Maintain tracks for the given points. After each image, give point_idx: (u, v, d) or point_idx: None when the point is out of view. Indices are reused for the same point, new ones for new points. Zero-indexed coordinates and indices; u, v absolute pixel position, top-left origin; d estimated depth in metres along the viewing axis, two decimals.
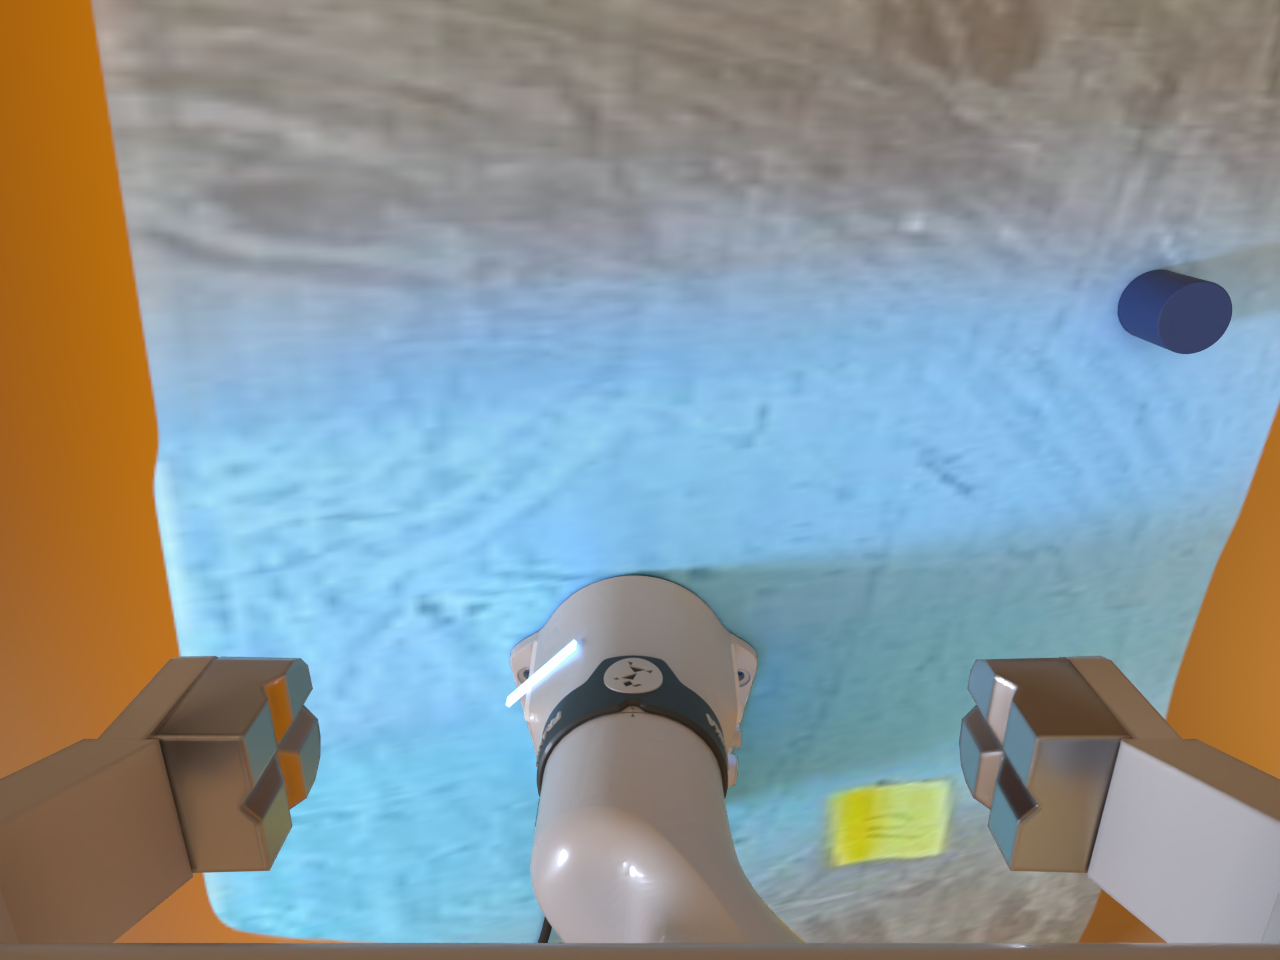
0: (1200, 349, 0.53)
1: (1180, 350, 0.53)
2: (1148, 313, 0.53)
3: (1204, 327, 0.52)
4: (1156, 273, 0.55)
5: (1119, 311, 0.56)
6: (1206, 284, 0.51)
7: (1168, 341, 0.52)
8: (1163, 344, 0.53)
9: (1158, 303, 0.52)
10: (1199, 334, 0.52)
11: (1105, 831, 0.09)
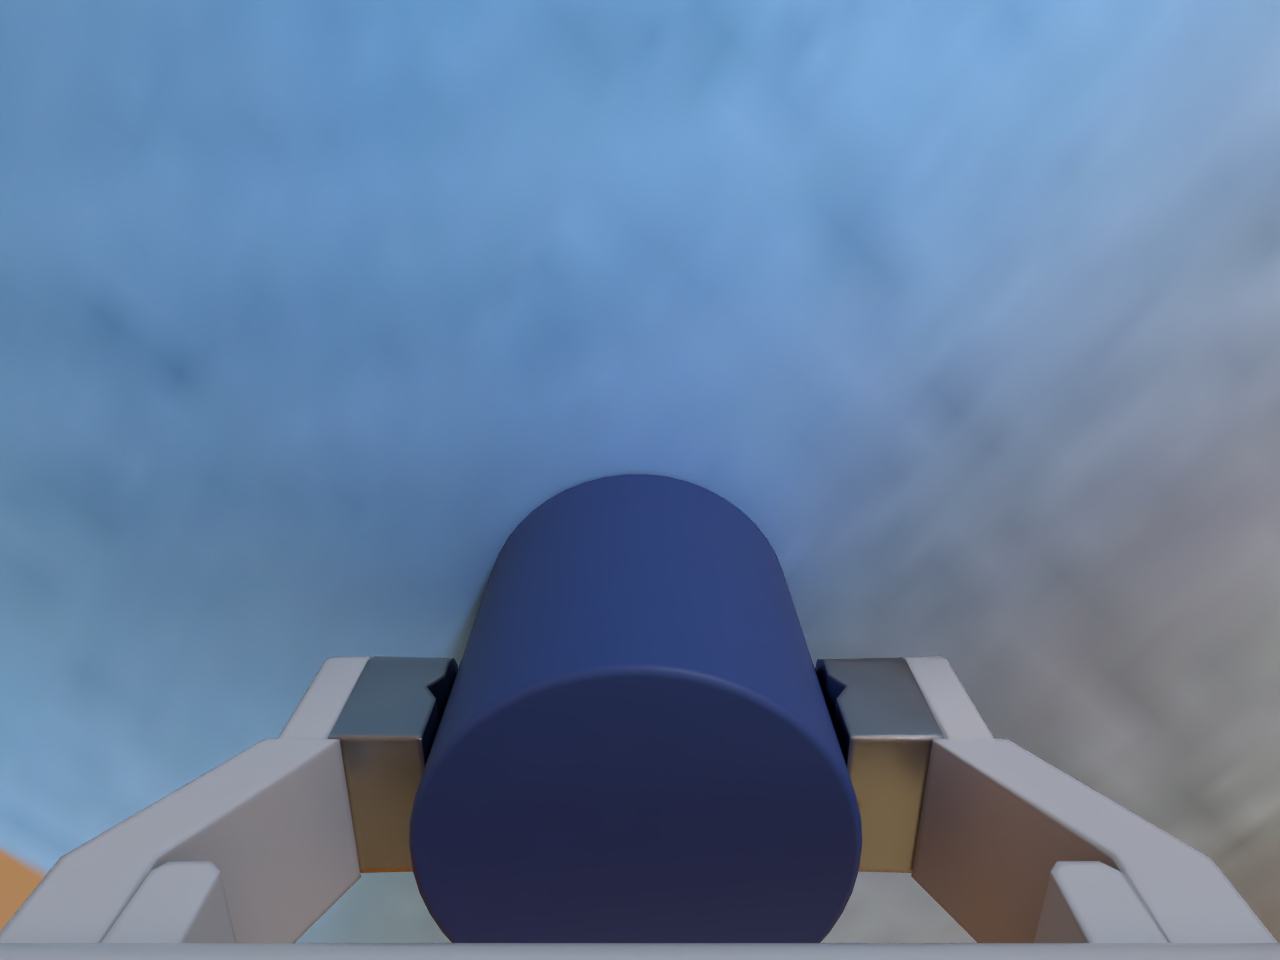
0: (425, 814, 0.08)
1: (493, 728, 0.08)
2: (774, 646, 0.09)
3: (546, 877, 0.08)
4: None
5: (710, 495, 0.12)
6: None
7: (602, 697, 0.08)
8: (594, 663, 0.08)
9: (829, 727, 0.08)
10: (520, 842, 0.08)
11: (926, 832, 0.09)
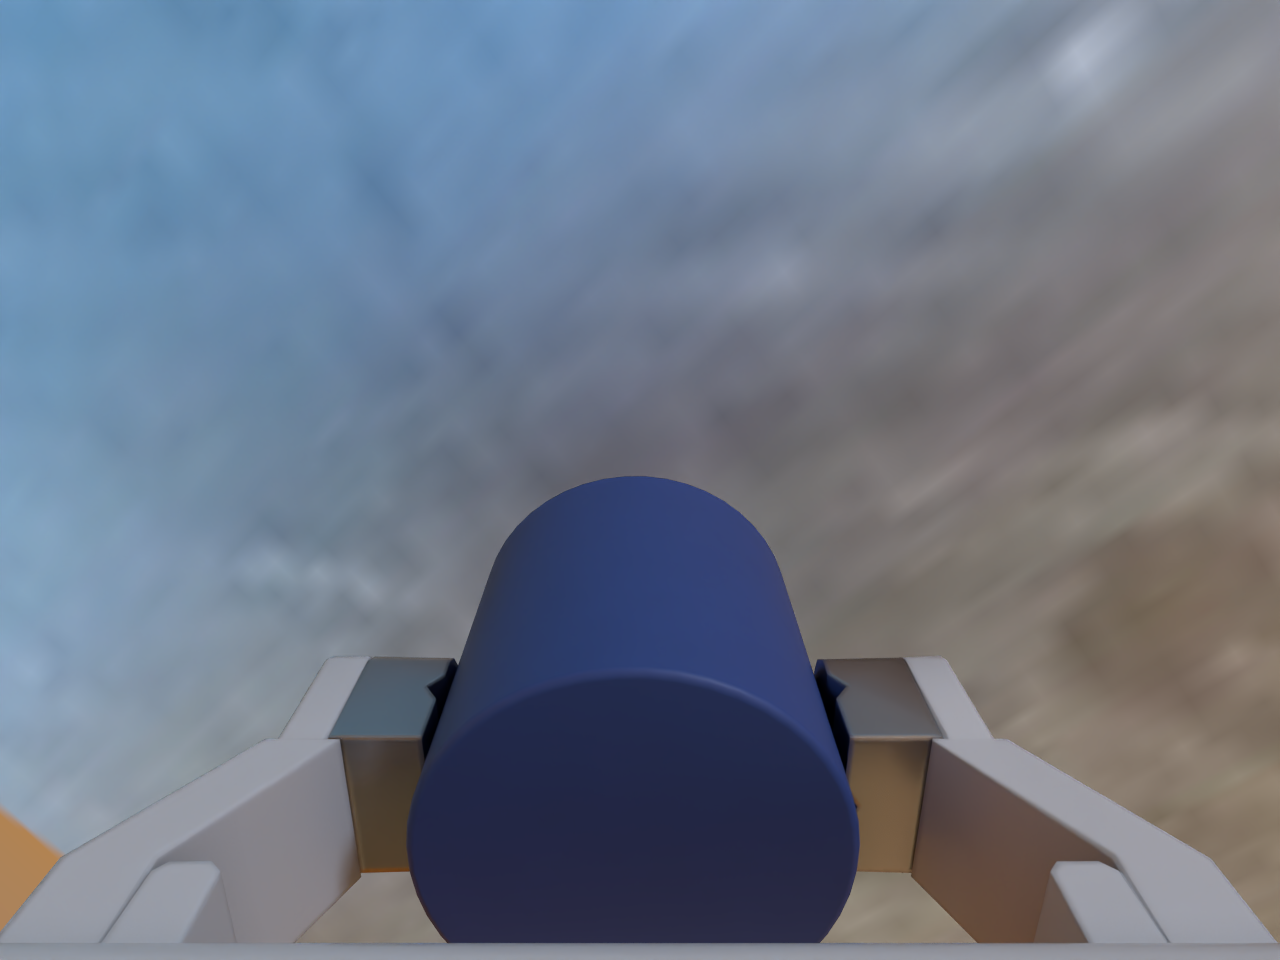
0: (422, 816, 0.08)
1: (491, 731, 0.08)
2: (772, 648, 0.09)
3: (544, 879, 0.08)
4: None
5: (709, 497, 0.12)
6: None
7: (599, 700, 0.08)
8: (591, 665, 0.08)
9: (826, 729, 0.08)
10: (517, 844, 0.08)
11: (927, 832, 0.09)
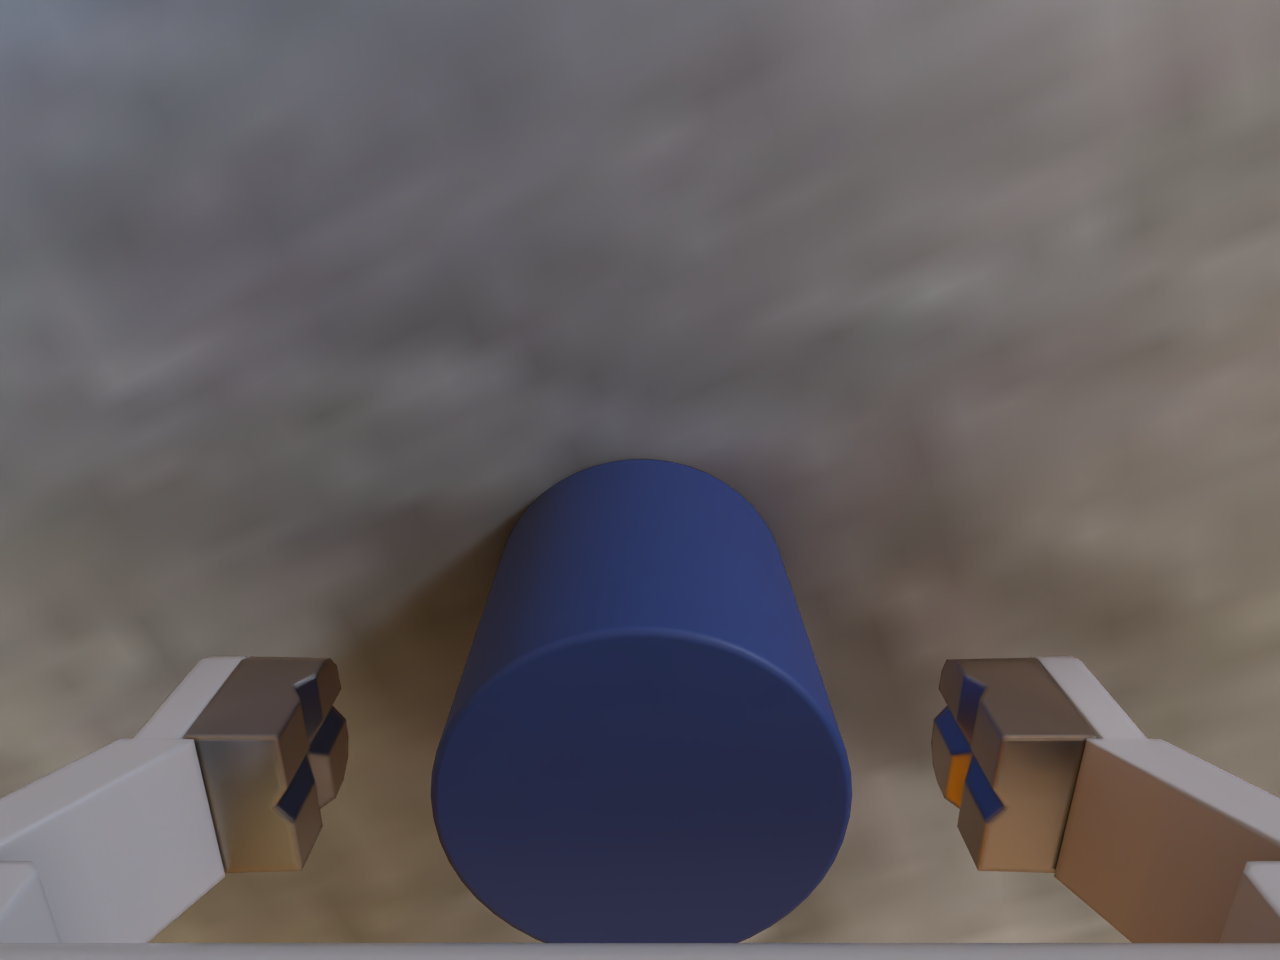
0: (446, 767, 0.09)
1: (510, 686, 0.08)
2: (770, 613, 0.09)
3: (558, 827, 0.09)
4: None
5: (711, 479, 0.12)
6: (772, 913, 0.09)
7: (609, 656, 0.08)
8: (603, 625, 0.08)
9: (820, 688, 0.09)
10: (533, 795, 0.09)
11: (1072, 832, 0.09)
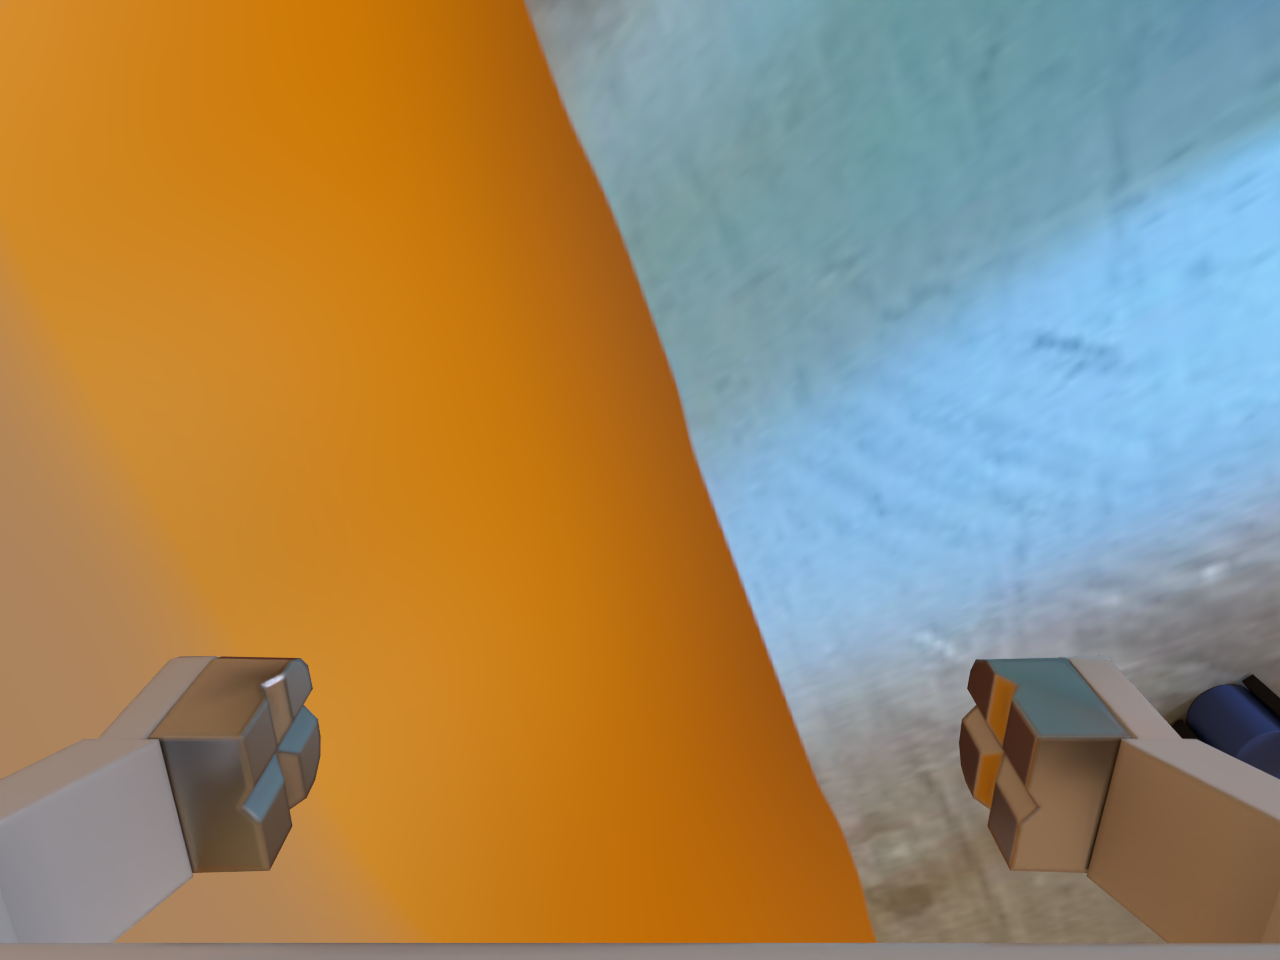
0: (1239, 753, 0.51)
1: (1256, 740, 0.51)
2: None
3: (1255, 764, 0.52)
4: None
5: (1247, 689, 0.55)
6: None
7: (1273, 735, 0.51)
8: (1272, 730, 0.51)
9: None
10: (1253, 758, 0.52)
11: (1104, 832, 0.09)
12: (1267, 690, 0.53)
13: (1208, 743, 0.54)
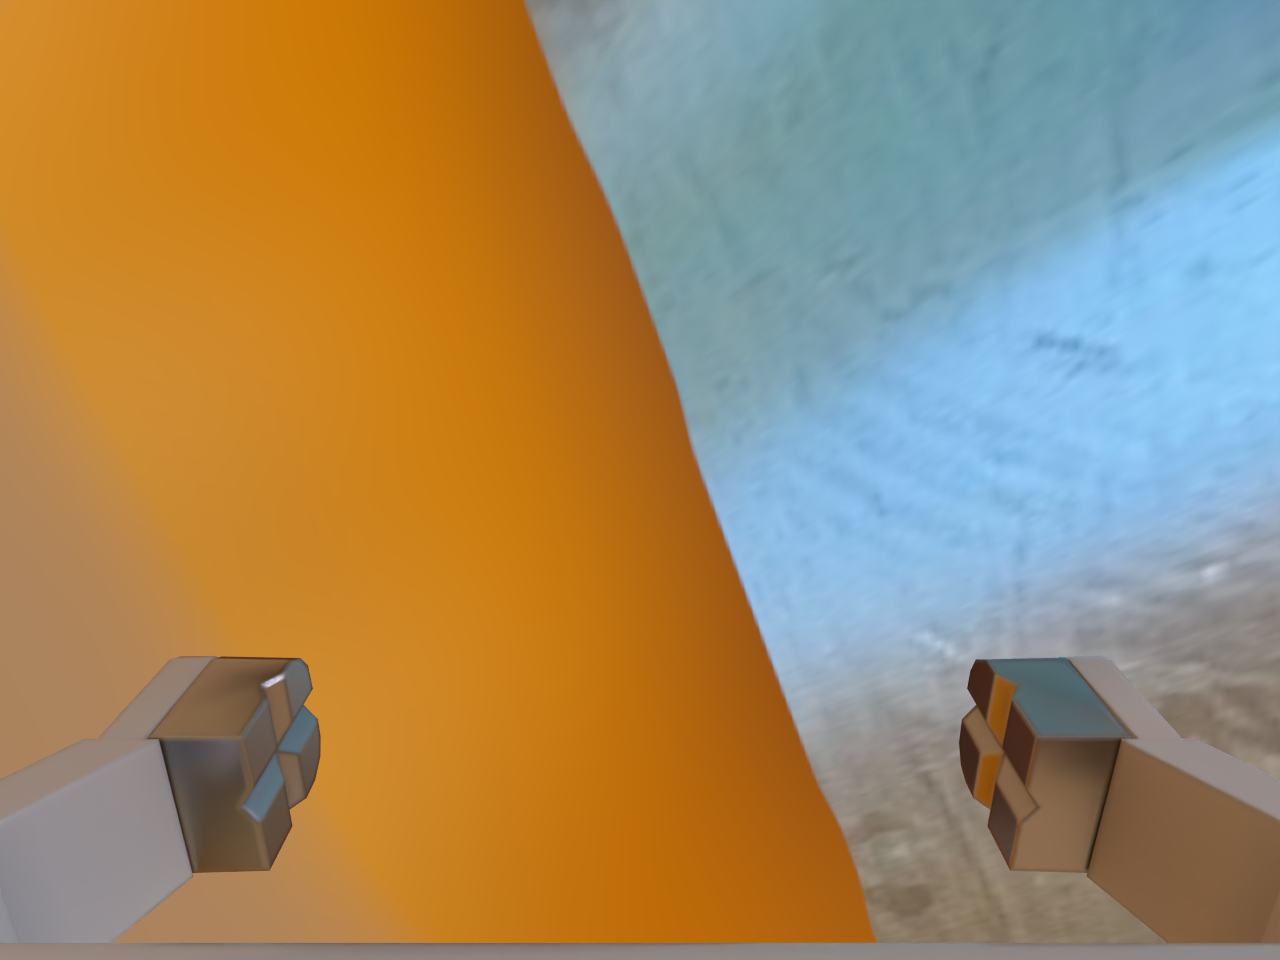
0: None
1: None
2: None
3: None
4: None
5: None
6: None
7: None
8: None
9: None
10: None
11: (1104, 832, 0.09)
12: None
13: None
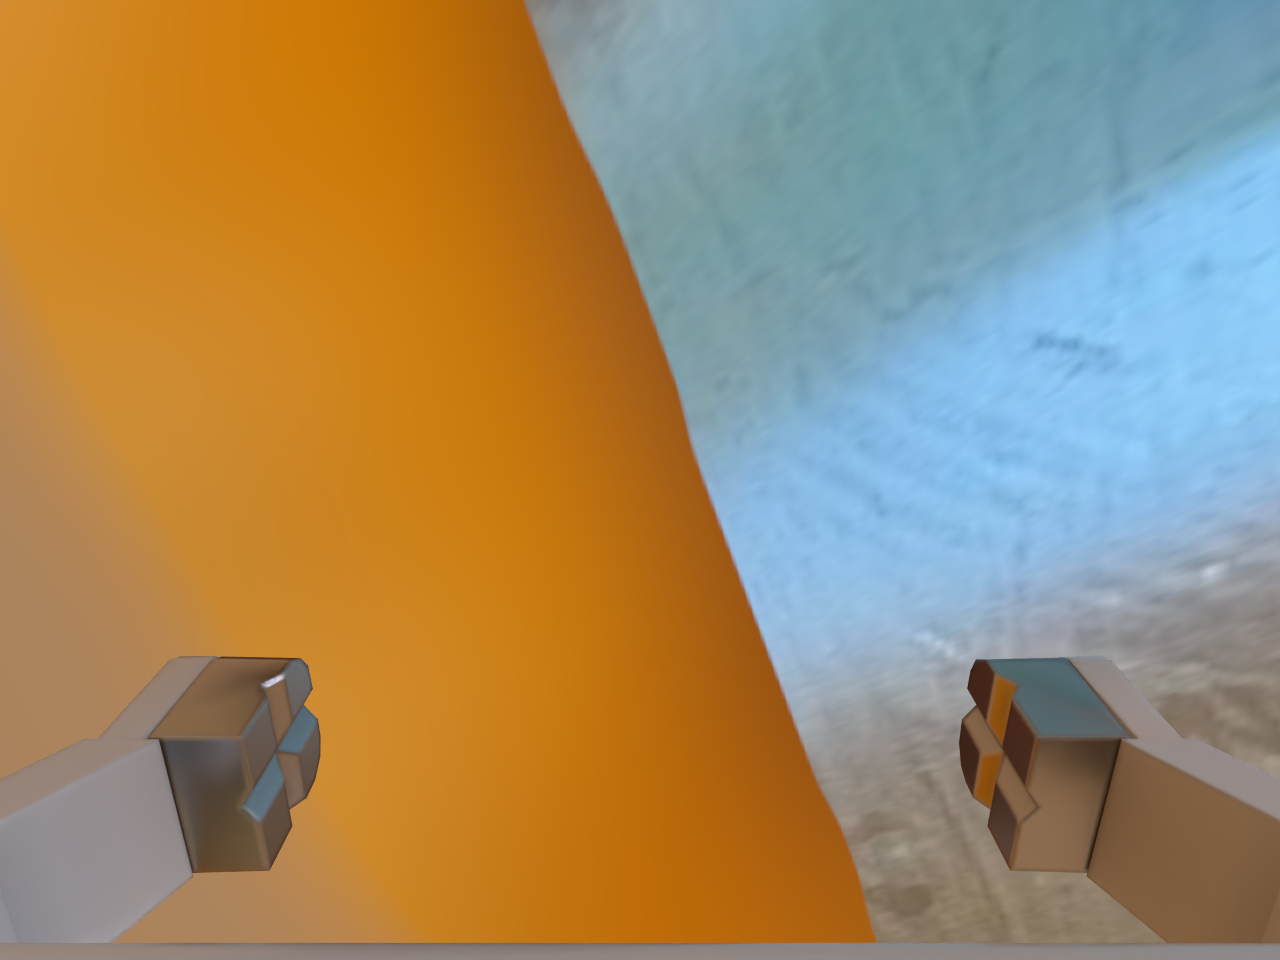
0: None
1: None
2: None
3: None
4: None
5: None
6: None
7: None
8: None
9: None
10: None
11: (1104, 832, 0.09)
12: None
13: None
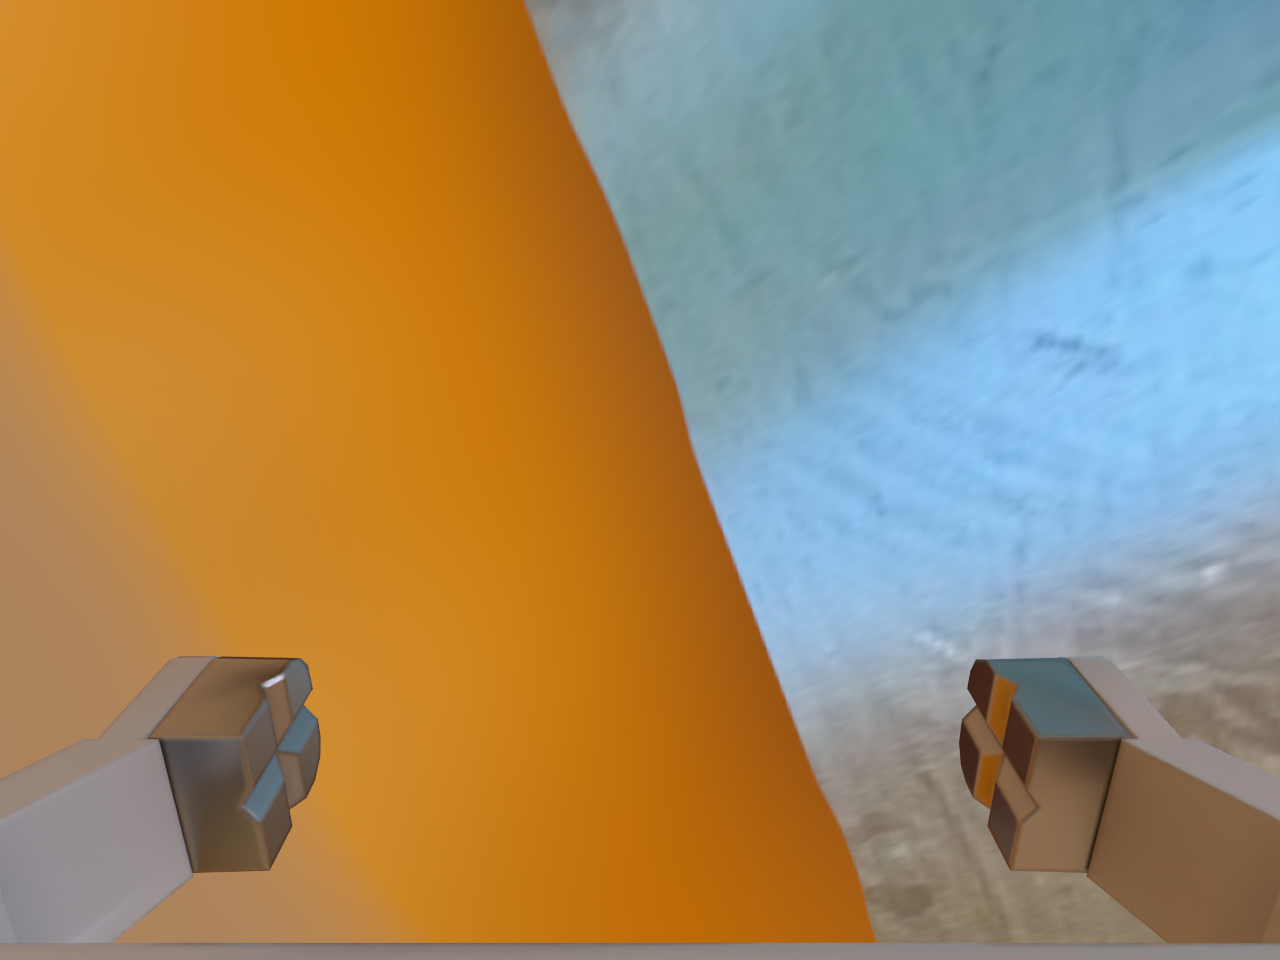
0: None
1: None
2: None
3: None
4: None
5: None
6: None
7: None
8: None
9: None
10: None
11: (1104, 832, 0.09)
12: None
13: None
